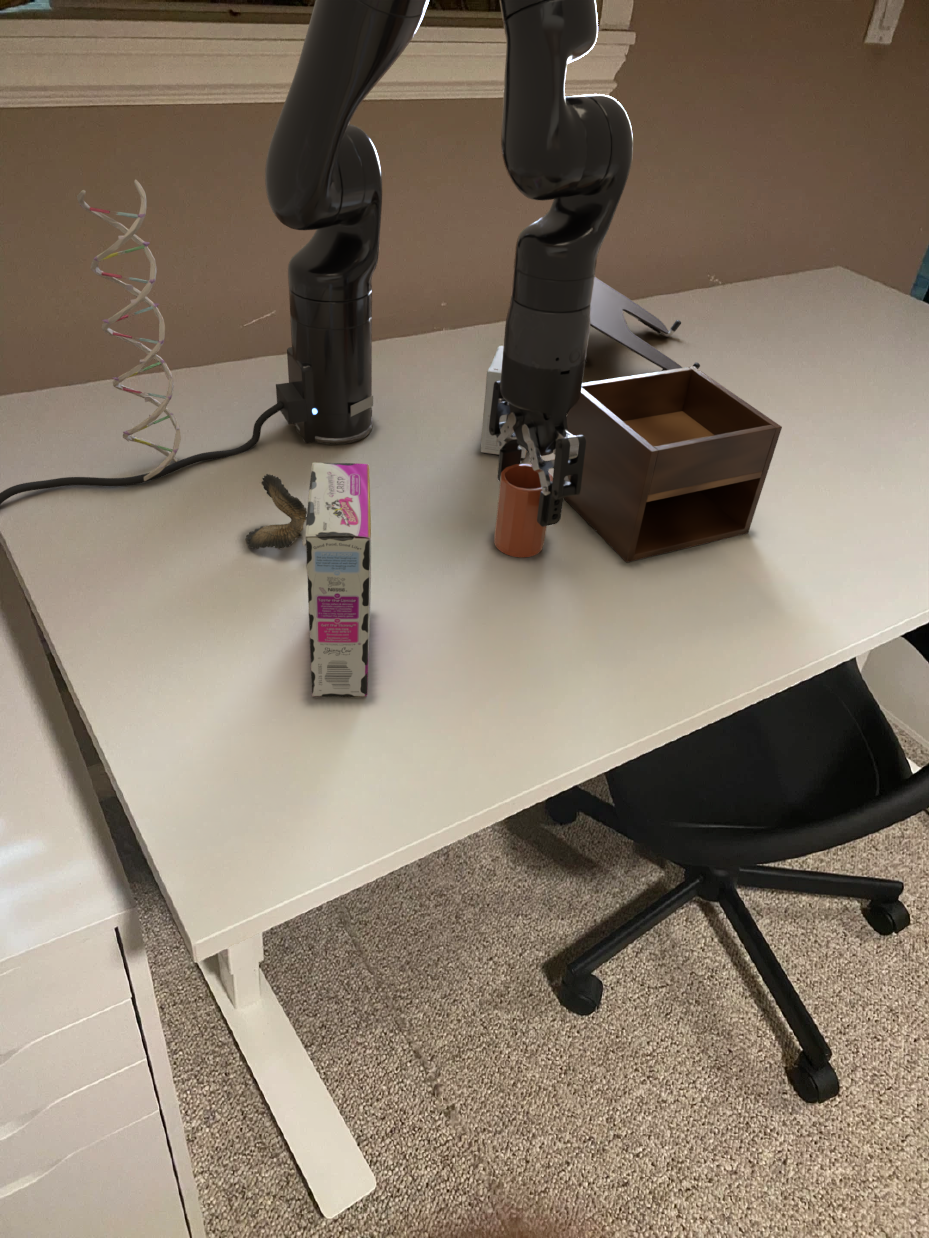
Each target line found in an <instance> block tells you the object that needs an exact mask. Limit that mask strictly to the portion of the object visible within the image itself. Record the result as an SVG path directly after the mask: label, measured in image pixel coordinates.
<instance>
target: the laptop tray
mask: <svg viewBox="0 0 929 1238" xmlns="http://www.w3.org/2000/svg"><path fill="white" fill-rule="evenodd" d="M624 312H625V313H626V314H628V315H629V316H631V317H633V318H634V319H636V320H637V321H638V322H640V323H641V324H643V325H644V326H646V327H648V328H649V329H651V330H652V331H654V332H655V333H657V334H659V335H662V336H663V337H671V336H673V335H674V333H675V332H676V331H677V330H678V328H680V326H681V325H682V321H681V320H680V319H676V320H675V321H674V322H673V324H672V325H671V327H670V329H668V328H667V326H666V325H665V323H663V321H661V320H660V318H658V317H656V316H655V315H654V314H652V313H651V312H650V311H648V310H646V309H645V308H644V307H642V306H641V305H639V304H637V303H636V302H635V301H633V300H631V298H628V297H627V296H625V295H624V294H622V293H621V292H619V291H618V290H616V289H614V288H613V287H611V286H610V285H608V284H607V283H605V282H604V281H602V280H601V279H599V278H597V277H596V276H595V278H594V285H593V292H592V299H591V308H590V327H591V328H593V329H595V330H596V331H598V332H600V333H601V334H603V335H604V336H606V337H607V338H608V337H609V338H610V339H611V340H613V341H615V342H616V343H618V344H620V345H621V346H623V347H624V348H626V349H628V350H629V351H631V352H633V353H635V354H636V355H638V356H640V357H642V358H643V359H645V360H646V361H648V362H650V363H652V364H654V365H656V366H657V367H659V368H661V371H666V370H672V369H679V368H683V366H681V365H680V364H679V363H677V362H676V361H675V360H673V359H672V358H670V357H668V356H667V355H666V354H665V353H663V352H662V351H660V350H658V349H657V348H655V347H654V346H653V345H651V344H649V343H648V342H646V341H645V340H643V338H640V337H639V336H637V335H636V334H635V333H634V332H632V330H631V329H630V328H629V326H628V323H627V320H626V318H625V314H624ZM585 364H588V361H587V359H586V360H585ZM692 366H694V367H696V368H697V369H700V367H701V364H700V363H699V362H697V361H695V362H694V363H693V365H692Z"/></svg>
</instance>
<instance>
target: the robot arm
mask: <svg viewBox="0 0 929 1238" xmlns="http://www.w3.org/2000/svg"><path fill="white" fill-rule="evenodd" d="M429 2H430V0H315V2H314V5H313V8H312V9H313V10H312V13H311V16H310V21H309V23H308V26H307V31H306V33H305V37H304V42H303V44H302V45H303V46H302V49H301V52H300V57H299V60H298V63H297V65H296V66H297V67H296V70H295V72H294V76H293V79H292V81H291V84H290V86H289V90H288V93H287V96H286V97H285V100H284V103H283V106H282V109H281V111H280V114H279V117H278V119H277V122H276V124H275V128H274V131H273V132H272V137H271V139H270V141H269V142H270V143H269V146H268V150H267V153H266V158H265V168H264V184H265V185H264V186H265V192H266V196H267V201H268V204H269V206H270V209H271V211H272V213H273V215H274V217H275V218H276V219H277V220H278V221H279V222H280V223H281V224H282V225H283V226H285V227H287V228H288V229H291V230H295V231H315V232H314V233H313V235H312V236H311V238H310V239H309V241H307V243H306V244H304V246H302V248H301V249H299V250H298V251H297V252H296V253H294V255H292V257H291V258H290V260H289V261H288V264H287V284H288V285H287V286H288V301H289V303H288V304H289V321H290V337H291V346H289V347H288V348H286V357H287V374H288V376H287V377H288V382H284V383H283V382H282V383H276V384H275V393H276V403H275V404H274V405H272V406H271V407H269V408H268V409H266V410H265V411H264V412H262V413H261V414H260V415H259V417H258V418H257V419H256V420H255V421H254V425H253V429H252V436H251V438H250V439H249V440H248V441H246V442H245V443H243V444H242V445H240V446H237V447H235V448H231V449H225V450H215V451H214V450H213V451H208V452H202V453H201V452H200V453H197V454H194V455H191V456H188V457H185V458H183V459H180V460H178V461H177V462H173V463H170V464H168V465H167V466H166V467H165V468H164V469H163V470H162V471H161V472H160V473H158V474H156V475H155V476H153V477H151V478H150V479H148V480H146V481H144V476H146V475H147V474H149V473H150V472H147V473H142V474H138V475H134V476H133V475H132V476H127V477H94V476H68V477H67V476H66V477H58V478H51V479H45V480H44V479H43V480H37V481H36V480H35V481H29V482H23V483H19V484H16V485H13V486H10V487H8V488H6V489H4V490H3V491H1V492H0V506H1V505H2V504H3V503H4V502H5V501H7V500H8V499H9V498H11V497H13V496H16V495H19V494H21V493H26V492H33V491H37V490H38V491H39V490H47V489H53V488H59V487H60V488H61V487H68V486H93V487H127V486H133V485H139V484H143V483H148V482H151V481H154V480H157V479H160V478H163V477H165V476H168V475H170V474H172V473H174V472H177V471H179V470H180V469H183V468H186V467H188V466H192V465H195V464H197V463H200V462H205V461H212V460H219V459H224V458H225V459H226V458H228V457H232V456H235V455H240V454H242V453H245V452H248V451H250V450H252V449H253V448H254V447H255V446H256V445H257V444H258V442H259V441H260V438H261V433H262V432H261V431H262V427H263V425H264V424H265V423H266V421H267V420H268V419H270V418H271V417H273V416H274V415H275V414H277V413H278V412H281V414H282V416H283V417H284V419H285V420H286V422H287V423H288V424H289V425H291V424H292V425H293V426H294V428H295V430H296V432H297V433H298V434H299V435H300V437H301V439H302V440H303V441H304V443H306V444H309V443H320V444H325V445H344V444H351V443H355V442H357V441H360V440H362V439H364V438H366V437H367V436H368V435H370V433H371V432H372V431H373V407H374V395H373V388H372V387H373V368H372V367H373V354H372V353H373V276H374V274H375V270H376V269H377V266H378V263H379V258H380V246H381V245H380V244H381V226H382V225H381V223H382V211H383V210H382V209H383V175H382V174H383V173H382V167H381V163H380V158H379V155H378V152H377V149H376V146H375V144H374V143H373V140H372V138H370V136H369V135H368V134H367V133H366V132H365V130H363V129H362V128H360V127H358V126H357V125H354V124H350V123H351V121H352V119H353V117H354V115H355V113H356V112H357V111H358V109H359V107H360V105H361V104H362V103H363V101H364V100H365V99H366V97H368V95H369V94H370V93H371V91H373V89H374V88H375V86H376V85H377V84H378V83H379V82H380V81H381V80H382V79H383V77H384V76H386V74H387V72H388V71H389V70H390V69H391V67H393V65H394V63H396V61H397V60H398V59H399V57H400V56H401V55H402V54H403V52H404V51H405V50H406V48H407V47H408V46H409V45H410V42H412V39H413V38H414V36H415V35H416V33H417V31H418V29H419V27H420V25H421V23H422V21H423V19H424V16H425V13H426V11H427V8H428V5H429ZM499 6H500V13H501V18H502V23H503V31H504V36H505V43H506V45H505V62H504V63H505V64H504V75H503V77H504V78H503V96H502V111H501V125H500V126H501V127H500V149H501V156H502V160H503V165H504V168H505V170H506V173H507V175H508V177H509V179H510V182H511V183H512V184H513V186H514V187H515V189H516V190H517V191H518V192H519V193H520V194H521V195H523V196H524V197H525V198H527V199H528V200H533V201H538V202H539V201H540V202H544V201H552V202H551V206H550V208H549V210H548V211H547V212H546V214H545V215H543V216H542V217H540V218H539V219H537V220H536V221H534V222H532V223H530V224H529V225H527V226H526V227H524V228H523V229H521V231H520V233H519V234H518V235H517V239H516V243H515V248H514V256H513V257H514V258H513V268H512V278H511V279H512V280H511V292H510V300H509V304H508V309H507V313H506V319H505V325H504V336H503V337H504V338H503V346H504V348H503V360H502V371H501V381H496V382H494V387H493V396H492V405H491V413H490V422H489V432H490V434H491V435H492V436H494V435H496V437H497V440H496V444H497V447H498V449H500V453H499V455H498V465H497V475H496V478H497V481H499V482H500V477H501V472H502V471H503V470H504V469H505V468H506V467H509V466H512V465H515V464H521V461H522V458H521V453H522V449H521V448H520V447H518V446H522V447H524V448H525V449H526V451H527V452H526V453H527V454H528V455H529V458H530V463H531V464H530V465H532V468H533V470H534V471H535V472H537V473H538V474H539V479H540V484H541V489H542V491H540V499H539V507H538V515H537V522H538V523H539V524H540V525H541V526H542V527H545V526H547V527H549V526H555V525H556V524H558V523H559V522H560V520H561V518H562V513H563V512H562V511H563V504H564V500H565V499H564V497H568V496H573V495H579V494H580V491H581V483H582V474H583V465H584V457H585V448H586V439H585V437H584V435H577V436H573V435H572V434H570V433H569V432H568V427H567V413H568V412H569V410H570V409H571V408H572V407H573V406H574V405H575V404H576V403H577V402H578V401H579V399H580V395H581V388H582V383H583V380H584V373H585V366H586V363H585V360H586V361H587V353H588V345H589V340H590V331H591V326H590V308H591V299H592V292H593V285H594V278H595V277H596V271H597V264H598V255H599V252H600V250H601V247H602V246H603V243H604V241H605V239H606V237H607V235H608V232H609V230H610V227H611V225H612V222H613V219H614V216H615V213H616V211H617V209H618V206H619V203H620V200H621V198H622V195H623V193H624V190H625V187H626V185H627V181H628V179H629V175H630V171H631V167H632V163H633V156H634V155H633V153H634V137H633V130H632V125H631V120H630V119H629V116H628V114H627V111H626V110H625V108H624V107H623V105H622V104H621V103H620V102H619V101H617V99H616V98H614V97H612V96H610V95H605V94H600V93H599V94H597V93H594V94H581V95H572V96H565V95H566V94H565V85H566V84H565V83H566V75H567V67H568V64H570V63H572V62H574V61H577V60H579V59H581V58H582V57H584V56H585V55H587V54H589V52H590V51H591V50H593V48H594V46H595V44H596V42H597V38H598V34H599V33H598V32H599V26H598V25H599V24H598V23H599V22H598V21H599V19H598V12H597V2H596V0H499ZM502 415H507V418H506V421H505V422H499V421H500V417H501V416H502ZM552 454H553V455H554V459H550V460H549V459H548V460H543V458H542V457H545V456H549V455H552ZM552 469H553V471H552V472H553V475H552V476H553V481H550V477H549V473H550V471H549V470H552ZM569 475H571V479H570V482H569V478H568V476H569Z"/></svg>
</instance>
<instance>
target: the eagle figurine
mask: <svg viewBox="0 0 929 1238" xmlns="http://www.w3.org/2000/svg"><path fill="white" fill-rule="evenodd" d="M261 479H262V480H261V485H262V487H263V488H262V489H263V490H264V491H265V492H266V495H267V496H268V497H269V498H271V500H272V502H273V504H274V506H275V507H276V508H277V509H278V510H279V511H280V512H281V513H283V514H284V515H286V516H287V517H289V518H290V521H289V522H288V523H284V524H281V523H280V524H267V525H262V526H260V527H258V528H255V529H254V530H251V531H250V532H248V534H246V536H245V537H246V538H245V541H246V545H247V546H248V548H251V549H253V550H254V549H256V550H259V549H260V548H261V549H262V548H263V549H265V548H275V549H278V550H281V549H284V548H289V547H290V546H292V545H293V543H294V542H295V541H296V540H297V539H299V538H301V542H302V546H303V547H304V546H305V547H306V537H305V534H306V519H307V507H305V504H304V503H303V502H302V501H301V500H300V499H299V497H297V496H293V495H291V493H290V492H289V490H288V489H287V488H286V487H285V484H283V481H282V479H281V478H279V476H276V475H273V474H270V473H269V474H268V473H266V474H265V475H264V476H263V477H262V478H261Z"/></svg>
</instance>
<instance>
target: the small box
mask: <svg viewBox="0 0 929 1238" xmlns="http://www.w3.org/2000/svg"><path fill="white" fill-rule="evenodd" d="M496 348H497V349H496V351H495V354H494V356H493V359H492V361H491V364H490V366H489V367H488V369H487V371H486V379H485V380H486V381H485V392H484V393H485V394H484V403H483V414H482V415H483V416H482V427H481V440H480V452H481V453H485V454H493V455H498V456H499V453H500V449H498V447H497V444H496V440H497V437H496V435H494V436H492V435H491V434H490V432H489V422H490V413H491V405H492V396H493V387H494V382H496V381H501V371H502V360H503V348H504V345H498V346H497V347H496ZM506 418H507V415H502V416H501V417H500V421H499V422H505V421H506ZM518 447H520V448H521V449H522V453H521V459H525V458H526V456H527V453H528V452H527V451H526V449H525V448H524V447H522V446H518Z"/></svg>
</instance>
